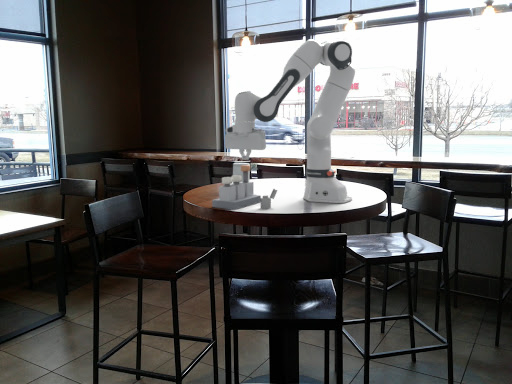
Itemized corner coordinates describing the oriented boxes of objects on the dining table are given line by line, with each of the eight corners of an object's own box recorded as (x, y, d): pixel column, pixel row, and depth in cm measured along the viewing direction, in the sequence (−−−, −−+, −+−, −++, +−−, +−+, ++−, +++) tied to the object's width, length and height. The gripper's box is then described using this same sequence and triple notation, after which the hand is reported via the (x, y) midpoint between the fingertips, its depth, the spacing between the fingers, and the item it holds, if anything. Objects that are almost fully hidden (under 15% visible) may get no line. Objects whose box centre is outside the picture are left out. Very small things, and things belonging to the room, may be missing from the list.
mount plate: (260, 202, 202) (260, 182, 200) (234, 209, 185) (234, 188, 184) (239, 199, 208) (238, 180, 207) (212, 206, 192) (211, 186, 190)
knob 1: (234, 199, 191) (234, 177, 190) (228, 200, 188) (228, 178, 186) (226, 198, 194) (226, 176, 192) (220, 199, 190) (219, 177, 188)
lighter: (261, 208, 187) (261, 189, 186) (260, 207, 189) (260, 189, 188) (277, 207, 189) (277, 188, 188) (276, 206, 191) (276, 188, 190)
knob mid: (243, 196, 197) (243, 175, 195) (238, 198, 193) (237, 176, 192) (235, 195, 199) (235, 175, 198) (230, 197, 196) (229, 176, 194)
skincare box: (232, 191, 232) (232, 163, 229) (234, 190, 238) (234, 162, 235) (248, 192, 231) (248, 163, 228) (250, 190, 237) (249, 162, 234)
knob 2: (252, 185, 202) (252, 165, 201) (247, 187, 199) (246, 166, 197) (244, 185, 205) (244, 164, 203) (239, 186, 201) (238, 165, 199)
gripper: (268, 128, 194) (268, 159, 197) (230, 128, 205) (231, 158, 208) (260, 128, 189) (261, 161, 191) (222, 128, 200) (223, 159, 202)
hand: (245, 159), depth 200 cm, fingers closed
